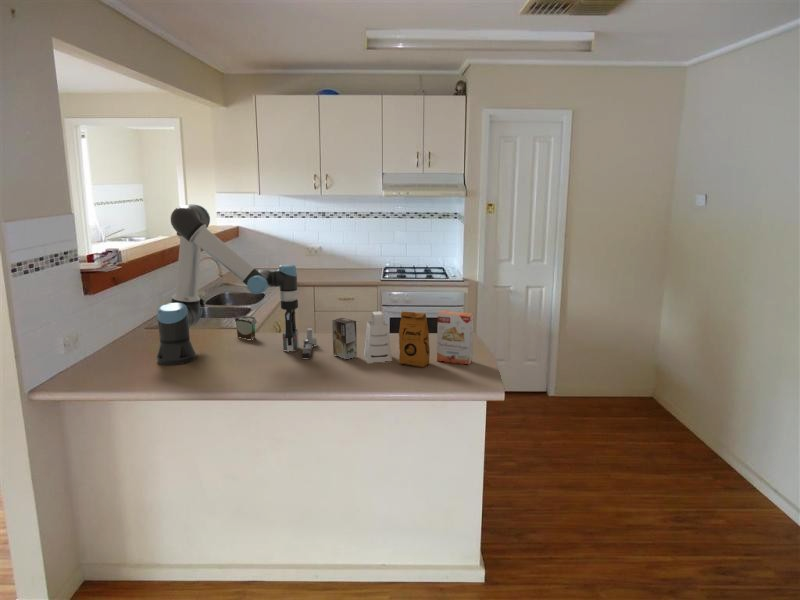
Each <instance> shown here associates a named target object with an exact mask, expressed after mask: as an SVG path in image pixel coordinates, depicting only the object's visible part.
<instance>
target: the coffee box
mask: <svg viewBox="0 0 800 600" xmlns="http://www.w3.org/2000/svg"><path fill="white" fill-rule="evenodd" d="M331 324H332V325H331V326H332V347H333V348H332V350H333V351H332V352H333V356H334V355H336V356H339V357H341V358H340V359H342V358H344V359H343V360H345V359H349V360H351V359H350V358H352V359H354V358H353V357H355V358H357V357H358V347H357V345H358V344H357V343H358V342H357V321H356V320H353V319H349V318H346V317H345V318H344V317H340V318H336V319H332V320H331ZM356 356H357V357H356ZM339 357H338V358H339Z"/></svg>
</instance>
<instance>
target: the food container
mask: <svg viewBox="0 0 800 600" xmlns="http://www.w3.org/2000/svg"><path fill="white" fill-rule="evenodd" d="M234 322H235V328H236V334H237V338H238V337H241V338H246V339H251V340H252V339H254V338H255V339H256V324H257V323H258V322H257V319H256V317H254V316H251V315H250V316H248V315H244V316H236V317H234ZM241 338H240V339H241ZM246 339H245V340H246ZM255 339H254V340H255ZM252 341H253V340H252Z"/></svg>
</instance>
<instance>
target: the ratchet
mask: <svg viewBox="0 0 800 600" xmlns="http://www.w3.org/2000/svg"><path fill="white" fill-rule="evenodd" d="M302 342H303V347H304V346H305V347H304V348H302V349H303V350H302V352H301V359H302V358H310V359H311V357H310V355H311V356H312V351H311V349H312V350H313V348H312V346H314V345H316V344H317V345H318V343H317V342H318V340H317V338H315V337H313V328H309V327H308V328H307V329H306V338H304V339H303V341H302Z"/></svg>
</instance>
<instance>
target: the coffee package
mask: <svg viewBox="0 0 800 600" xmlns="http://www.w3.org/2000/svg"><path fill="white" fill-rule="evenodd" d="M400 316H401V317H400V322H399V330H398V337H399V338H398V345H399V346H398V348H399V357H398V358H399V360H398V363H399V364H403V365H408V366H412V367H421V368H425V367H426V366H428V365H429V364H430V353H431V352H430V337H429V335H430V334H429V333H430V331H429V328H428V319H427V315H426V313H422V312H413V311H401V313H400ZM427 364H428V365H427Z"/></svg>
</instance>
